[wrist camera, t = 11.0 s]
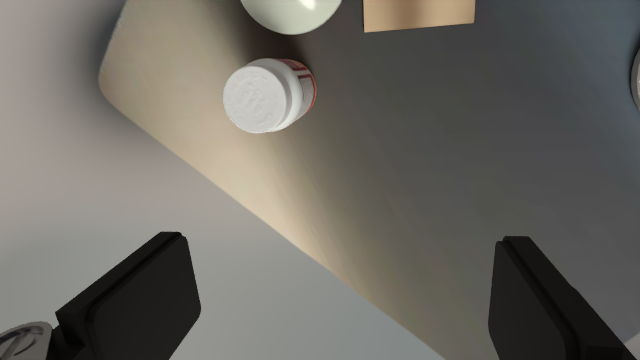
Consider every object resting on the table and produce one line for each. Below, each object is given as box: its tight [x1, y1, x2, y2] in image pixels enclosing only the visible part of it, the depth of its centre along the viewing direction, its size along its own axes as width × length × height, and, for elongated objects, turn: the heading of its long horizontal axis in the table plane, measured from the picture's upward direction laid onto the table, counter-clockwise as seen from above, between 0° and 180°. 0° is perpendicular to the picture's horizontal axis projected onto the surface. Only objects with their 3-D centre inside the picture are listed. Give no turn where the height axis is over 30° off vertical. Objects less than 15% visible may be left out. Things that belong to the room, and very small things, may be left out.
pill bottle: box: [223, 58, 316, 133], centre depth 32 cm, size 6×6×11 cm
